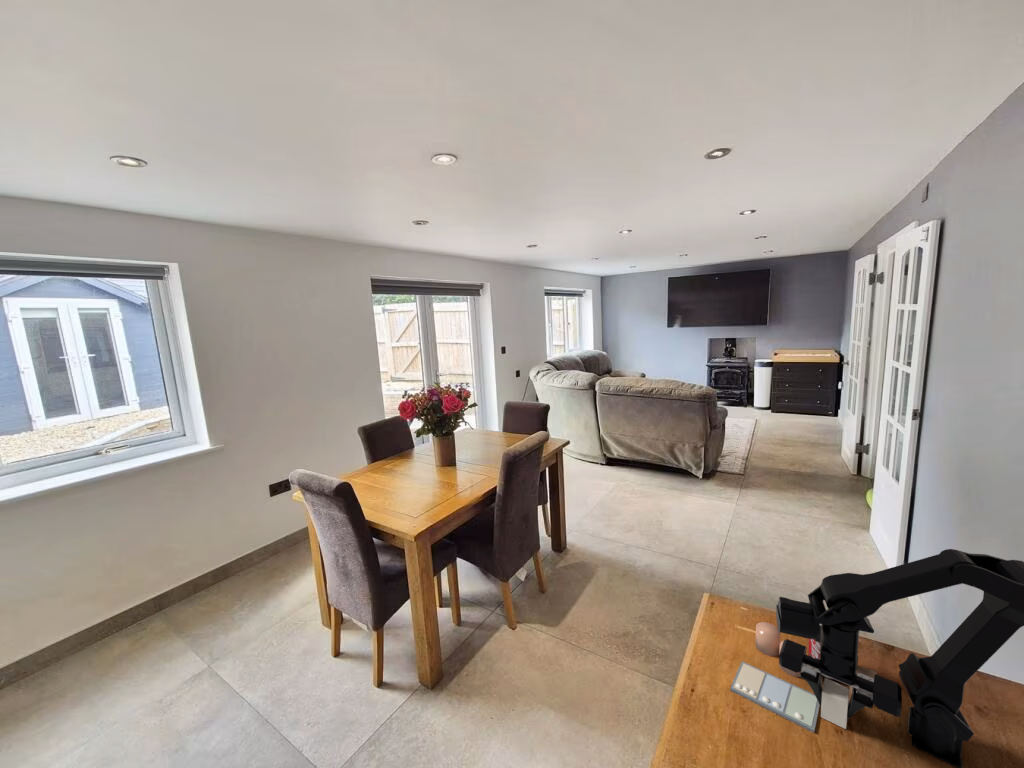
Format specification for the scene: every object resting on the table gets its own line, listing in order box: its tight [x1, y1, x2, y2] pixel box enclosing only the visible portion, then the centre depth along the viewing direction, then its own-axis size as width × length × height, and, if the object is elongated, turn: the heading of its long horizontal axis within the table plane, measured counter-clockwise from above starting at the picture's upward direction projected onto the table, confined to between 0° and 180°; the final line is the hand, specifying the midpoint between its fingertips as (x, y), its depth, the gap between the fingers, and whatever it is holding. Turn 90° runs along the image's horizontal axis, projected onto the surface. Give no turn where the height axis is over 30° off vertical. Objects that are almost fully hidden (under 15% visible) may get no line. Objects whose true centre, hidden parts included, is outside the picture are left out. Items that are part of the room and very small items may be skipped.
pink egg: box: [778, 640, 801, 678], centre depth 95 cm, size 5×5×5 cm
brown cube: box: [848, 665, 878, 706], centre depth 88 cm, size 4×4×4 cm
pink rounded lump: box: [755, 621, 781, 657], centre depth 101 cm, size 5×5×5 cm
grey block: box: [820, 677, 851, 730], centre depth 84 cm, size 4×4×6 cm
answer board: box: [729, 660, 821, 734], centre depth 90 cm, size 15×9×1 cm, turn 47°
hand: (834, 710), depth 84 cm, fingers closed on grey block, 4 cm apart
